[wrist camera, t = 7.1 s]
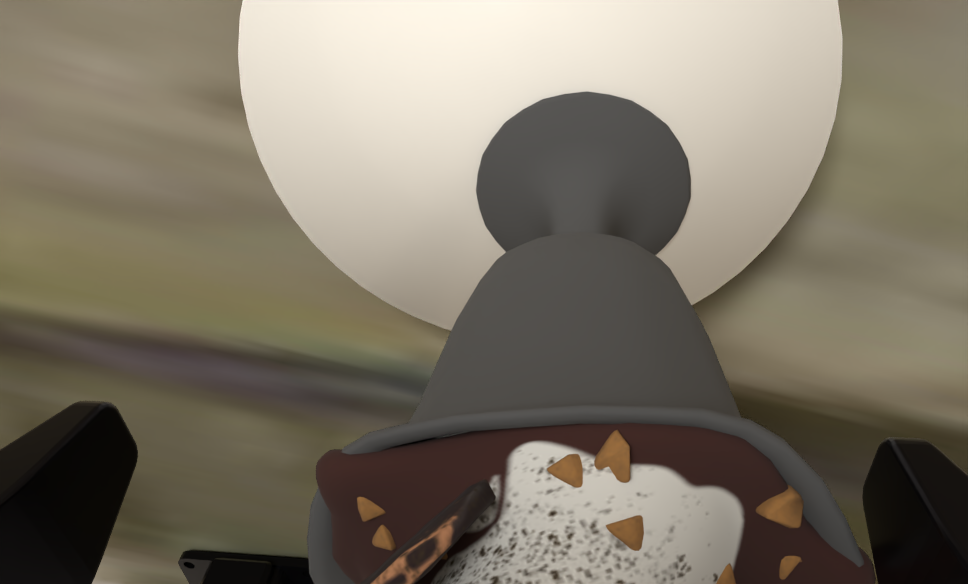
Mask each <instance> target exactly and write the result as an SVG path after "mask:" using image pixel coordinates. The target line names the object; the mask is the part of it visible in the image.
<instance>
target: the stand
mask: <svg viewBox="0 0 968 584" xmlns="http://www.w3.org/2000/svg"><path fill="white" fill-rule="evenodd" d="M238 60H239V72H240V84H241V93H242V98H243V102H244V107H245V112H246V116H247V121H248V126H249V129H250V132H251V135H252V138H253V140H254V143H255V146H256V149H257V152H258V155H259V158H260V160H261V162H262V164H263V166H264V169H265V171H266V173H267V175H268V177H269V179H270V181H271V183H272V185H273V187H274V189H275V191H276V192H277V194H278V196H279V197H280V199H281V200H282V202H283V203H284V205H285V207H286V208H287V210H288V211H289V213H290V214H291V216H292V218H293V219H294V220H295V221H296V223H297V224H298V225H299V226H300V228H301V229H302V230H303V231H304V233H305V234H306V235H307V236H308V237H309V239H310V240H311V241H312V242H313V244H314V245H315V246H316V247H317V248H318V249H319V250H320V251H321V252H322V253H323V254H324V255H325V256H326V257H327V258H328V259H329V260H330V261H331V262H332V263H333V264H334V265H335V266H337V267H338V268H339V269H340V270H342V271H343V272H344V273H345V274H347V275H348V276H349V277H350V278H351V279H353V280H354V281H355V282H356V283H358V284H359V285H360V286H362V287H363V288H365V289H366V290H368V291H369V292H371V293H372V294H374V295H376V296H377V297H379V298H380V299H382V300H383V301H385V302H386V303H388V304H390V305H392V306H394V307H396V308H398V309H400V310H402V311H404V312H406V313H408V314H410V315H412V316H414V317H416V318H418V319H421V320H424V321H426V322H429V323H431V324H434V325H436V326H439V327H441V328H444V329H448V330H452V328H453V326H454V324H455V322H456V320H457V318H458V316H459V315H460V313H461V311H462V310H463V308H464V306H465V305H466V303H467V301H468V300H469V298H470V296H471V295H472V293H473V291H474V290H475V288H476V287H477V285H478V283H479V282H480V280H481V279H482V277H483V276H484V275H485V274H486V272H487V271H488V270H489V269H490V267H491V266H492V265H493V264H494V262H495V261H496V260H497V259H498V258H499V257H501V256H502V255H503V254H505V253H506V252H505V250H504V249H503V248H502V247H501V246H500V245H499V244H498V243H497V242H496V240H495V239H494V238H493V236H492V235H491V233H490V232H489V230H488V229H487V228H486V226H485V224H484V221H483V218H482V215H481V212H480V209H479V204H478V199H477V194H476V186H477V176H478V170H479V166H480V162H481V158H482V155H483V153H484V151H485V150H486V148H487V146H488V145H489V143H490V141H491V140H492V138H493V137H494V135H495V134H496V133H497V132H498V130H499V129H500V128H501V127H502V125H503V124H504V123H505V122H506V121H508V120H509V119H510V118H512V117H513V116H515V115H516V114H517V113H519V112H520V111H522V110H523V109H525V108H527V107H529V106H530V105H532V104H534V103H536V102H538V101H540V100H542V99H545V98H550V97H554V96H558V95H562V94H569V93H577V92H586V91H588V92H595V93H602V94H609V95H613V96H617V97H621V98H624V99H628V100H632V101H633V102H635V103H637V104H639V105H640V106H642V107H644V108H645V109H647V110H649V111H650V112H652V113H653V114H654V115H656V116H657V117H658V118H659V119H661V120H662V121H663V122H664V123H666V124H667V125H668V126H669V128H670V129H671V131H672V132H673V134H674V135H675V136H676V138H677V139H678V141H679V142H680V144H681V146H682V148H683V150H684V152H685V154H686V156H687V158H688V163H689V169H690V176H691V199H690V202H689V205H688V208H687V211H686V214H685V217H684V219H683V221H682V223H681V225H680V227H679V230H678V232H677V233H676V234H675V235H674V237H673V238H672V239H671V240H670V241H669V243H668V244H667V245H666V246H665V247H664V248H663V249H662V250H661V251H660V252H659V253H658V254H657V255H655V256H657V257H658V258H660V259H661V260H662V261H663V262H664V263H665V264H666V265H667V266H668V267H669V268H670V269H671V271H672V273H673V274H674V276H675V278H676V279H677V281H678V283H679V284H680V286H681V288H682V290H683V291H684V293H685V295H686V297H687V298H688V300H689V302H690V304H691V305H693V304H695V303H697V302H698V301H700V300H702V299H703V298H705V297H707V296H708V295H710V294H712V293H713V292H715V291H716V290H717V289H719V288H720V287H721V286H723V285H724V284H725V283H727V282H728V281H729V280H731V279H732V278H733V277H735V276H736V275H737V274H738V273H740V272H741V271H742V270H743V269H744V268H745V267H746V266H747V265H748V264H749V263H750V262H751V261H753V260H754V259H755V258H756V257H757V256H758V255H759V254H760V253H761V252H762V251H763V250H764V249H765V248H766V247H767V246H768V244H769V243H770V242H771V241H772V240H773V238H774V237H775V236H776V235H777V233H778V232H779V231H780V230H781V229H782V227H783V226H784V225H785V224H786V222H787V221H788V220H789V218H790V217H791V215H792V214H793V212H794V211H795V209H796V207H797V206H798V204H799V203H800V201H801V199H802V198H803V196H804V195H805V193H806V191H807V190H808V188H809V186H810V184H811V181H812V179H813V177H814V175H815V173H816V171H817V169H818V166H819V164H820V162H821V160H822V158H823V156H824V153H825V149H826V146H827V143H828V140H829V136H830V133H831V130H832V127H833V123H834V120H835V116H836V110H837V104H838V98H839V92H840V86H841V79H842V30H841V23H840V15H839V7H838V0H243V3H242V8H241V13H240V25H239V45H238Z"/></svg>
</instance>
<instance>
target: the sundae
mask: <svg viewBox="0 0 968 584" xmlns="http://www.w3.org/2000/svg"><path fill="white" fill-rule="evenodd" d="M476 194H477V199H478V204H479V209H480V212H481V215H482V218H483V221H484V224H485V226H486V228H487V229H488V230H489V232H490V233H491V235H492V236H493V238H494V239H495V240H496V242H497V243H498V244H499V245H500V246H501V247H502V248H503V249H504V250H505V252H506V253H505V254H503V255H502V256H501V257H499V258H498V259H497V260H496V261H495V262H494V264H493V265H492V266H491V267H490V269H489V270H488V271H487V272H486V274H485V275H484V276H483V277H482V279H481V280H480V282H479V283H478V285H477V287H476V288H475V290H474V291H473V293H472V295H471V296H470V298H469V300H468V301H467V303H466V305H465V306H464V308H463V310H462V311H461V313H460V315H459V316H458V318H457V320H456V322H455V324H454V326H453V328H452V330H451V333H450V335H449V337H448V339H447V342H446V344H445V346H444V349H443V351H442V353H441V355H440V358H439V360H438V362H437V364H436V367H435V369H434V371H433V374H432V376H431V378H430V380H429V383H428V385H427V387H426V389H425V392H424V394H423V396H422V399H421V401H420V403H419V405H418V407H417V409H416V411H415V412H414V414H413V416H412V418H411V419H410V421H409V423H406V424H402V425H398V426H394V427H389V428H385V429H381V430H377V431H373V432H369V433H368V434H366V435H364V436H363V437H361V438H359V439H357V440H356V441H354V442H352V443H351V444H349V445H347V446H345V447H344V448H343V449H342V450H336V449H334V450H330V451H328V452H327V453H325V454H324V455H323V456H322V457H321V458H320V459H319V461H318V462H317V465H316V480H317V483H318V490H317V492H316V494H315V497H314V499H313V502H312V504H311V509H310V518H309V527H308V536H307V543H308V559H309V574H310V576H311V578H312V580H313V582H314V584H875V579H876V577H875V572H874V568H873V564H872V562H871V560H870V558H869V557H868V555H867V554H866V553H865V552H864V551H863V550H862V549H861V548H859V547H858V546H857V543H856V541H855V539H854V536H853V534H852V532H851V529H850V527H849V525H848V522H847V520H846V518H845V516H844V515H843V513H842V511H841V510H840V508H839V506H838V505H837V503H836V501H835V500H834V498H833V496H832V495H831V493H830V491H829V490H828V488H827V486H826V485H825V483H824V481H823V480H822V479H821V478H820V476H819V475H818V474H817V473H816V472H815V471H814V470H813V469H812V468H811V467H810V466H809V465H808V464H807V463H806V462H805V461H804V460H803V459H802V458H801V457H800V456H799V455H798V454H797V453H796V452H795V451H794V450H793V449H792V447H791V446H790V445H789V444H788V443H787V442H786V441H785V440H784V439H783V438H781V437H779V436H778V435H776V434H774V433H773V432H771V431H769V430H767V429H766V428H764V427H762V426H760V425H759V424H757V423H755V422H754V421H752V420H749V419H745V418H741V416H740V413H739V411H738V408H737V406H736V403H735V401H734V398H733V396H732V393H731V391H730V388H729V386H728V383H727V381H726V378H725V376H724V374H723V371H722V369H721V366H720V364H719V361H718V359H717V356H716V354H715V351H714V349H713V346H712V344H711V341H710V339H709V337H708V335H707V333H706V331H705V329H704V327H703V325H702V323H701V321H700V319H699V317H698V316H697V314H696V312H695V310H694V309H693V307H692V305H691V304H690V302H689V300H688V298H687V297H686V295H685V293H684V291H683V290H682V288H681V286H680V284H679V283H678V281H677V279H676V278H675V276H674V274H673V273H672V271H671V269H670V268H669V267H668V266H667V265H666V264H665V263H664V262H663V261H662V260H661V259H660V258H658V257H657V256H655V255H657V254H658V253H659V252H660V251H661V250H662V249H663V248H664V247H665V246H666V245H667V244H668V243H669V241H670V240H671V239H672V238H673V237H674V235H675V234H676V233H677V232H678V230H679V227H680V225H681V223H682V221H683V219H684V217H685V214H686V211H687V208H688V205H689V202H690V199H691V176H690V169H689V163H688V158H687V156H686V154H685V152H684V150H683V148H682V146H681V144H680V142H679V141H678V139H677V138H676V136H675V135H674V134H673V132H672V131H671V129H670V128H669V126H668V125H667V124H666V123H664V122H663V121H662V120H661V119H659V118H658V117H657V116H656V115H654V114H653V113H652V112H650V111H649V110H647V109H645V108H644V107H642V106H640V105H639V104H637V103H635V102H633V101H632V100H628V99H624V98H621V97H617V96H613V95H609V94H602V93H595V92H588V91H586V92H577V93H569V94H562V95H558V96H554V97H550V98H545V99H542V100H540V101H538V102H536V103H534V104H532V105H530V106H529V107H527V108H525V109H523V110H522V111H520V112H519V113H517V114H516V115H515V116H513V117H512V118H510V119H509V120H508V121H506V122H505V123H504V124H503V125H502V127H501V128H500V129H499V130H498V132H497V133H496V134H495V135H494V137H493V138H492V140H491V141H490V143H489V145H488V146H487V148H486V150H485V151H484V153H483V155H482V158H481V162H480V166H479V170H478V176H477V186H476Z"/></svg>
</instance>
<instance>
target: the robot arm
mask: <svg viewBox="0 0 968 584" xmlns="http://www.w3.org/2000/svg"><path fill="white" fill-rule="evenodd" d="M137 457H138V450H137V445H136V443H135V441H134V439H133V437H132V435H131V433H130V431H129V429H128V428H127V426H126V424H125V422H124V420H123V418H122V416H121V414H120V412H119V411H118V409H117V408H116V406H114V405H113V404H112V403H109V402H100V401H80V402H76V403H74V404H72V405H70V406H69V407H67V408H66V409H64V410H62V411H61V412H59V413H58V414H56V415H55V416H53V417H51V418H50V419H48V420H47V421H45V422H43V423H42V424H40V425H39V426H37V427H36V428H34V429H32V430H31V431H29V432H28V433H26V434H24V435H23V436H21V437H20V438H18V439H17V440H15V441H13V442H12V443H10V444H9V445H7V446H6V447H4V448H2V449H1V450H0V584H92V582H93V580H94V577H95V575H96V572H97V570H98V567H99V565H100V562H101V560H102V557H103V555H104V552H105V549H106V546H107V544H108V541H109V538H110V535H111V533H112V530H113V527H114V524H115V522H116V519H117V516H118V513H119V511H120V508H121V505H122V502H123V500H124V497H125V494H126V491H127V489H128V486H129V483H130V480H131V478H132V475H133V472H134V469H135V467H136V463H137ZM863 507H864V512H865V517H866V522H867V528H868V533H869V538H870V543H871V548H872V553H873V559H874V564H875V569H876V574H877V579H878V584H968V474H966V473H965V472H964V471H963V470H962V469H961V468H960V467H959V466H957V465H956V464H955V463H954V462H953V461H952V460H951V459H949V458H948V457H947V456H946V455H945V454H944V453H943V452H942V451H940V450H939V449H938V448H937V447H936V446H935V445H933V444H932V443H930V442H929V441H927V440H924V439H919V438H898V437H889V438H886V439H884V440H883V441H882V442H881V444H880V445H879V447H878V450H877V453H876V455H875V458H874V460H873V463H872V465H871V468H870V470H869V473H868V476H867V478H866V481H865V484H864V488H863ZM178 564H179V566H180V568H181V569H182V571H183V573H184V575H185V577H186V578H187V580H188V582H189V584H314V582H313V580H312V578H311V576H310V574H309V559H298V558H284V557H270V556H256V555H243V554H229V553H215V552H201V551H185V552H183V554H182V555H181V557H180V559H179V561H178Z"/></svg>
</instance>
